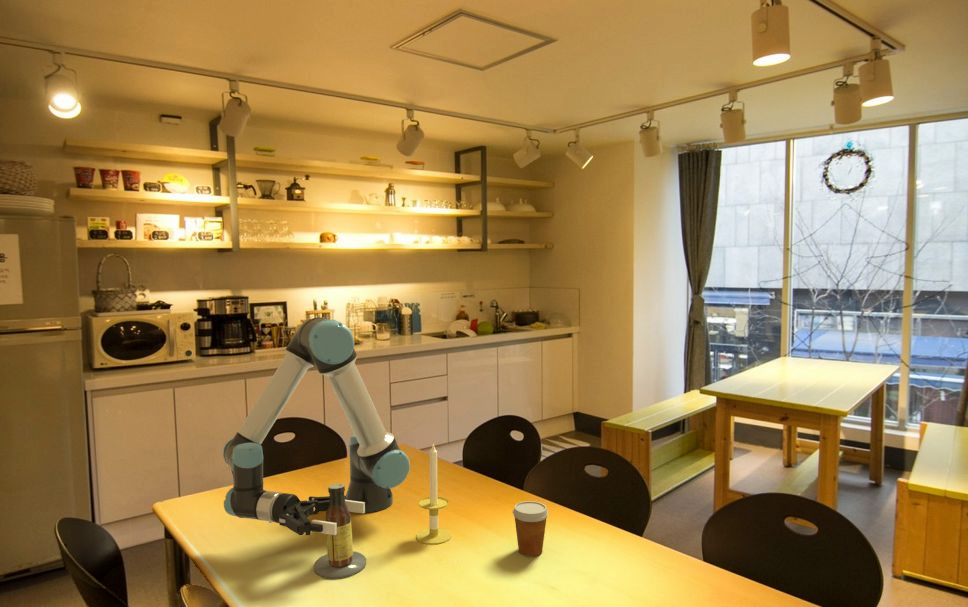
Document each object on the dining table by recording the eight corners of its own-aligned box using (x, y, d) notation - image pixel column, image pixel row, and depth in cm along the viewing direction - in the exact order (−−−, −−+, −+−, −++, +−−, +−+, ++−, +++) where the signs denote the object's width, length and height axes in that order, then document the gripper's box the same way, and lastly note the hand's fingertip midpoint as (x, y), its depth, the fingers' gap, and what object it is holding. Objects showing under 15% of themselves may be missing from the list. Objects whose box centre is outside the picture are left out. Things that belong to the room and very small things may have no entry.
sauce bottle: (357, 558, 156) (356, 483, 155) (344, 570, 150) (342, 491, 149) (335, 555, 158) (334, 480, 157) (321, 566, 152) (320, 488, 151)
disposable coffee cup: (524, 562, 155) (524, 517, 154) (506, 547, 164) (506, 504, 163) (555, 554, 159) (555, 510, 159) (535, 540, 168) (536, 498, 167)
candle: (458, 533, 172) (457, 440, 171) (439, 547, 164) (438, 449, 162) (428, 526, 177) (428, 435, 176) (409, 539, 168) (408, 444, 167)
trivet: (353, 549, 163) (353, 546, 163) (374, 568, 152) (374, 565, 152) (306, 563, 155) (305, 560, 155) (325, 584, 145) (325, 581, 145)
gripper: (307, 504, 171) (374, 513, 164) (247, 542, 147) (322, 554, 140) (307, 478, 170) (374, 486, 164) (246, 511, 147) (322, 523, 140)
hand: (350, 518), depth 152 cm, fingers open, 13 cm apart
